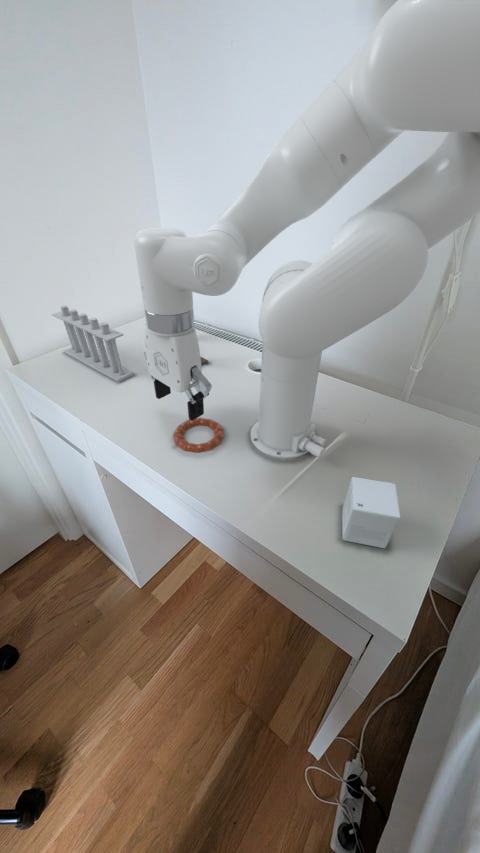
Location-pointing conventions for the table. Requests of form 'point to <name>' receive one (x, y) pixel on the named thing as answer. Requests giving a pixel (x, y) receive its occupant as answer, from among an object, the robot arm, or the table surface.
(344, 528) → the product box
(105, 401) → the table surface
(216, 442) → the ring
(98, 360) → the test tube rack
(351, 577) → the table surface
